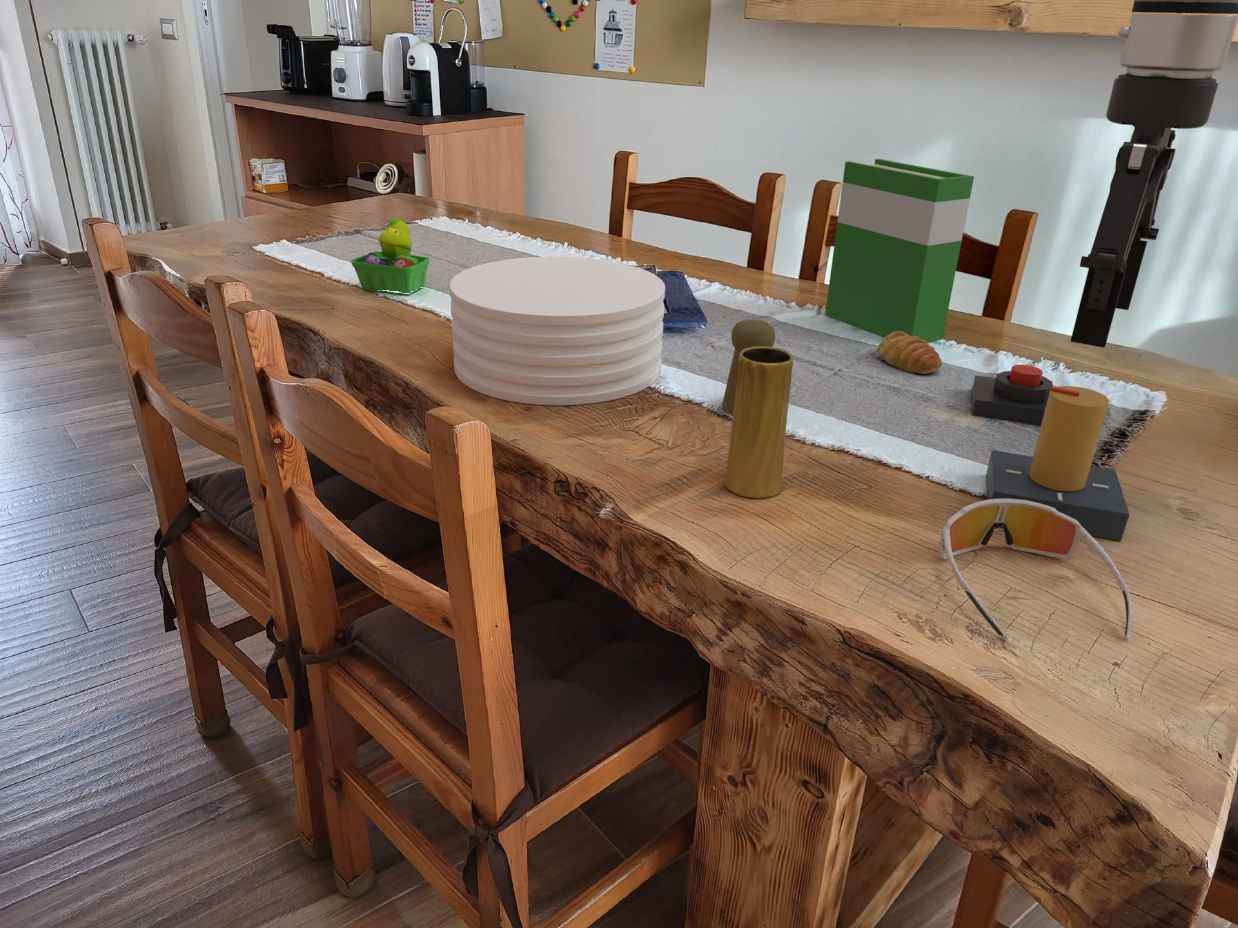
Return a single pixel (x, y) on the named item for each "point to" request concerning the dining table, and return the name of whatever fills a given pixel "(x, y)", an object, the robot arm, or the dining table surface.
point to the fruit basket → (392, 263)
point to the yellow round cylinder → (1068, 438)
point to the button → (1025, 375)
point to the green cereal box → (897, 247)
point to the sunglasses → (1020, 539)
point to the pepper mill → (744, 337)
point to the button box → (1009, 399)
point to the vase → (759, 422)
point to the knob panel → (1063, 494)
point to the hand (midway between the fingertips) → (1101, 324)
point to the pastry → (909, 353)
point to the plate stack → (557, 329)
